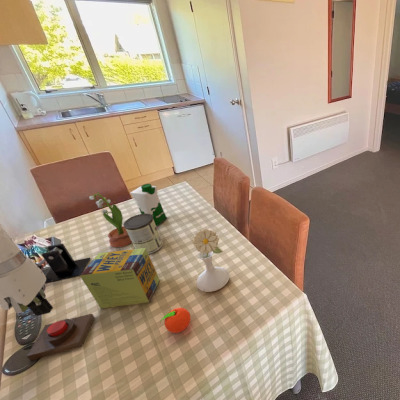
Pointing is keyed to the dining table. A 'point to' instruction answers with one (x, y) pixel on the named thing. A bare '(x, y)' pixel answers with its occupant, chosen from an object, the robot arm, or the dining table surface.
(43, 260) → the toast lever
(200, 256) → the flower in vase
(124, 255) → the protein box
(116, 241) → the potted flower
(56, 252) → the bracket
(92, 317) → the button block
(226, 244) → the dining table surface
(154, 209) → the milk carton
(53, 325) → the button
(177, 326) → the clementine
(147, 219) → the coffee can
